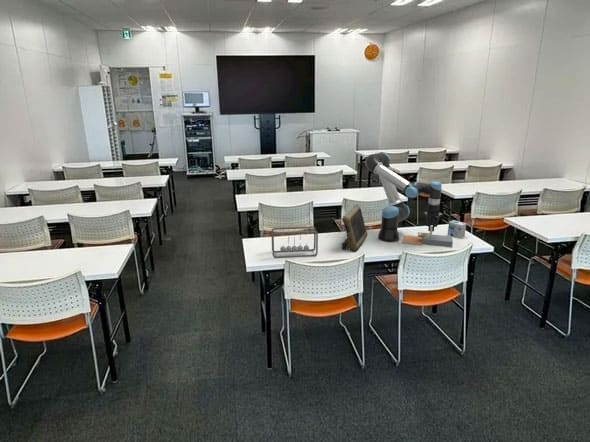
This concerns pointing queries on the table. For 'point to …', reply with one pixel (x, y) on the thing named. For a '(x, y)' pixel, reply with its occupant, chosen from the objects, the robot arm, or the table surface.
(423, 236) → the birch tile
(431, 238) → the deck
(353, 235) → the tablet
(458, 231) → the light bulb box
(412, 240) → the mat
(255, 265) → the table surface
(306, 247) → the newton's cradle
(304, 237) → the table surface
